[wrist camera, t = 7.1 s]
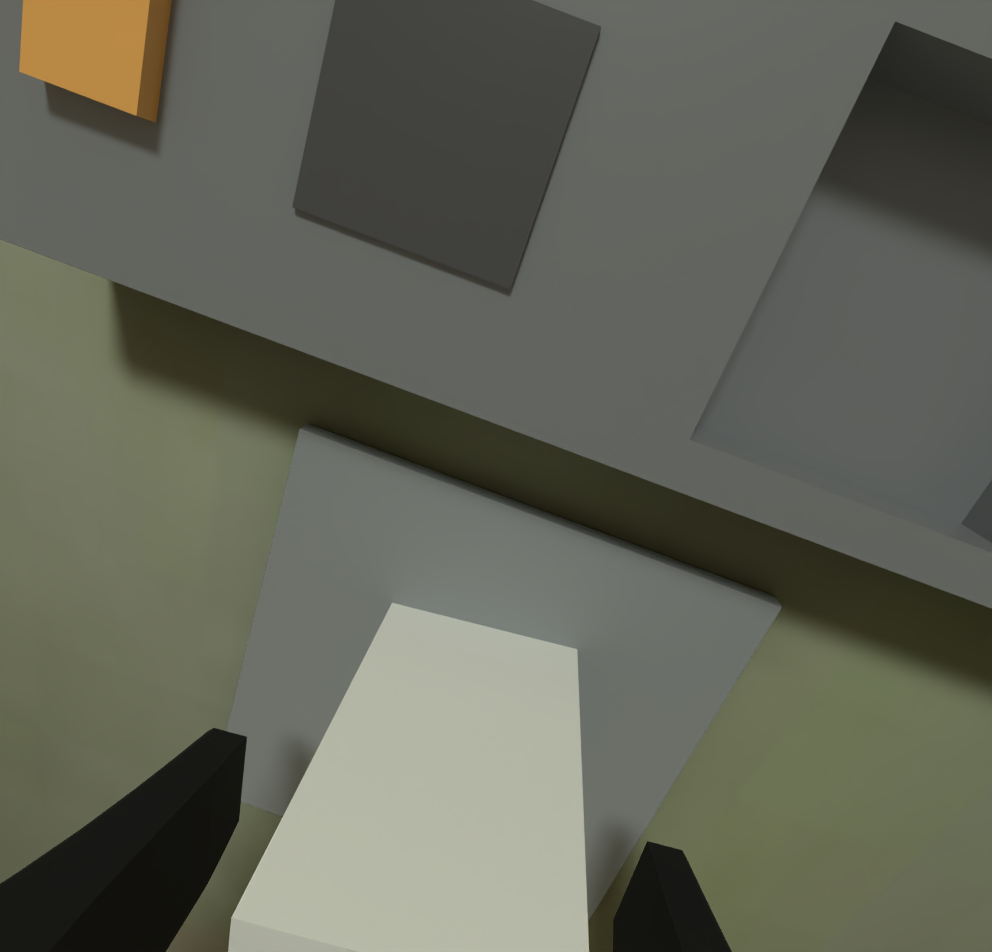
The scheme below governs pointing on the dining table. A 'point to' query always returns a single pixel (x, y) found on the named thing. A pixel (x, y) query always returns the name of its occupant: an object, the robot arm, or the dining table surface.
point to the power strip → (568, 225)
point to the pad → (493, 603)
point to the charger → (434, 805)
